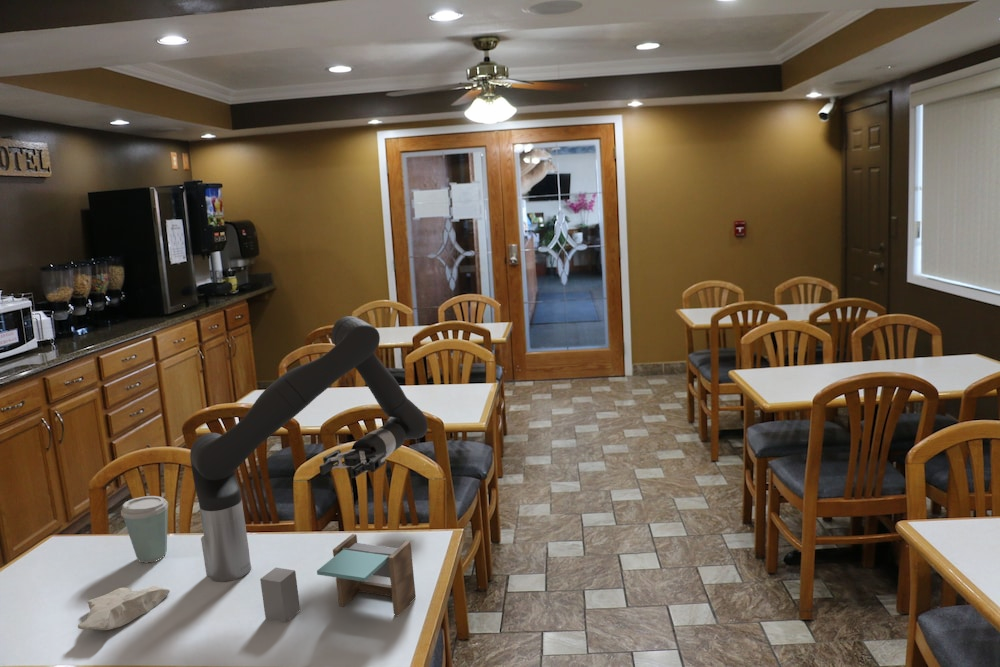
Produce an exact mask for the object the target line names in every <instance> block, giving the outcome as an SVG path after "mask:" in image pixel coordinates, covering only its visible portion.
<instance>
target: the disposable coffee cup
mask: <svg viewBox="0 0 1000 667" xmlns="http://www.w3.org/2000/svg"><path fill="white" fill-rule="evenodd" d="M168 508H169V502H168V501H167V500H166V499H165V498H164V497H162V496H158V495H147V496H140V497H134V498H132V499H129V500H128V501H127V500H126V501H125V502H124V503H123V504H122V509H120V515H121V517H123V520H124V523H125V527H126V530H127V533H128V535H129V538H130V541H131V544H132V547H133V550H134V553H135V556H136V559H137V560H138V561H139V562H140V563H141V562H145V563H144V564H149V563H148V562H152V563H154V562H153V561H155V562H157V561H156V560H158V559H160V558H162V557H163V556H164V555H165V554H167V551H168V512H169V511H168V510H169V509H168ZM165 556H166V555H165ZM162 559H163V558H162ZM160 560H161V559H160ZM158 561H159V560H158Z"/></svg>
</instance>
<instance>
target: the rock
mask: <svg viewBox="0 0 1000 667" xmlns="http://www.w3.org/2000/svg"><path fill="white" fill-rule="evenodd" d="M170 592H171V590H170V589H168V588H163V587H161V586H157V585H152V586H150V587H148V588H144V589H140V590H132V589H131V588H127V587H119V588H116V589H115V590H113V591H111V592H108V593H106V594H103V595H101V596H98V597H95V598H92V599H89V600H87V604H88V608H89V612H88V614H87V616H86V618H85V619H86V620H84V621H82V622H81V623H79V624H78V625H77V628H78V629H80V630H100V631H109V630H114V629H117V628H120V627H122V626H125V625H126V624H128V623H130V622H132V621H133V620H135V619H136V618H138V617H140V616H142V615H145V614H148V613H149V612H151V611H152V610H153V609H154V608H156V607H157V606H158V605H159V604H160V603H161V602H162V601H163V600H164V599H165V598H166V597H167V596H168V595H169V594H170ZM151 609H152V610H151ZM150 610H151V611H150ZM147 612H148V613H147Z"/></svg>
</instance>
